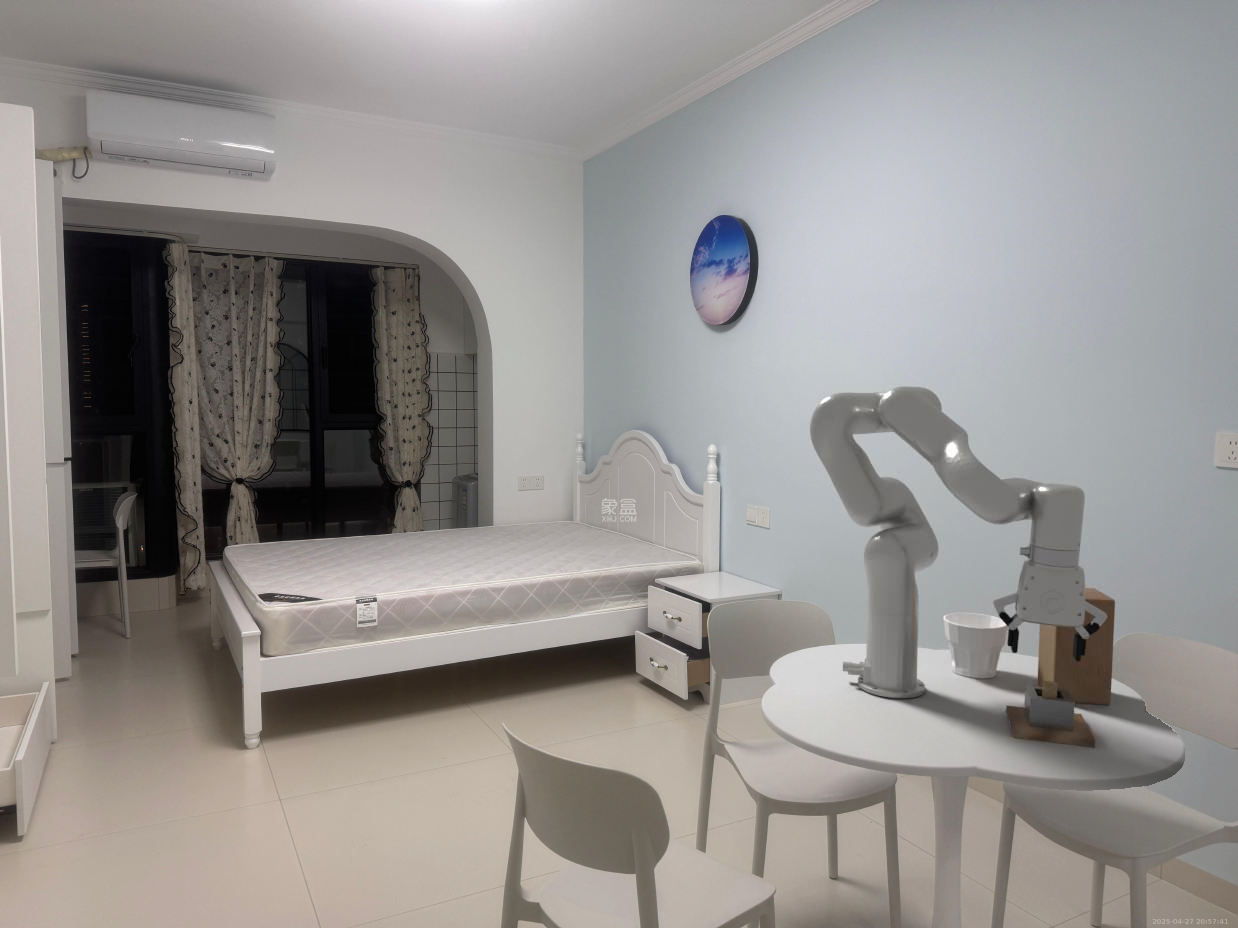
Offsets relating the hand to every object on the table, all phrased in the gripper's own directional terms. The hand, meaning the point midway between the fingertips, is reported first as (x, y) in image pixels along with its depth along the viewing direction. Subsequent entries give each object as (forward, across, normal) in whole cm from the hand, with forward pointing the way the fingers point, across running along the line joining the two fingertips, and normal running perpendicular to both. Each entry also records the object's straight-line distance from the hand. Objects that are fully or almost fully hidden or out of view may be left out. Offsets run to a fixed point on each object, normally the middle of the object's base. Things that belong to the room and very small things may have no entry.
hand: (1044, 654), depth 139 cm
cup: (+14, -8, +27) cm, 32 cm away
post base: (+13, +1, -1) cm, 13 cm away
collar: (+12, +1, -1) cm, 12 cm away
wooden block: (+13, +8, +19) cm, 25 cm away
